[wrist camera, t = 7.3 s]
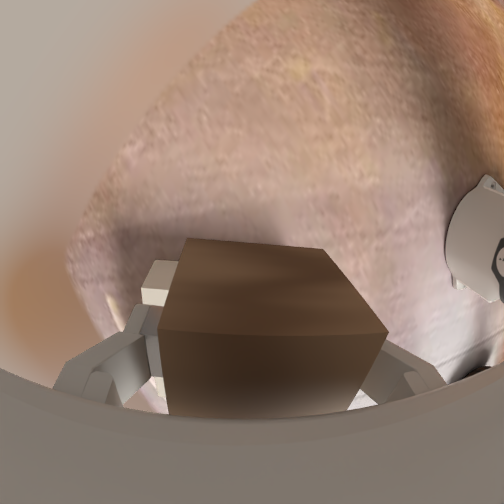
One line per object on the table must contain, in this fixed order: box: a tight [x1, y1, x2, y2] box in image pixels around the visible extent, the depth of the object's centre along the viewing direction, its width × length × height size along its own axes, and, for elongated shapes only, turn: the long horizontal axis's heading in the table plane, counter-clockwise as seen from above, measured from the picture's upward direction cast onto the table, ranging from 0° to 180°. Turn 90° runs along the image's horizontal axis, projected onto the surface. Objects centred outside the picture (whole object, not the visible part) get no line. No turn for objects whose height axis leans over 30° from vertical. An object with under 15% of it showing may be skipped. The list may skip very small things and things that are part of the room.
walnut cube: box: [157, 238, 389, 419], centre depth 8 cm, size 5×5×5 cm
